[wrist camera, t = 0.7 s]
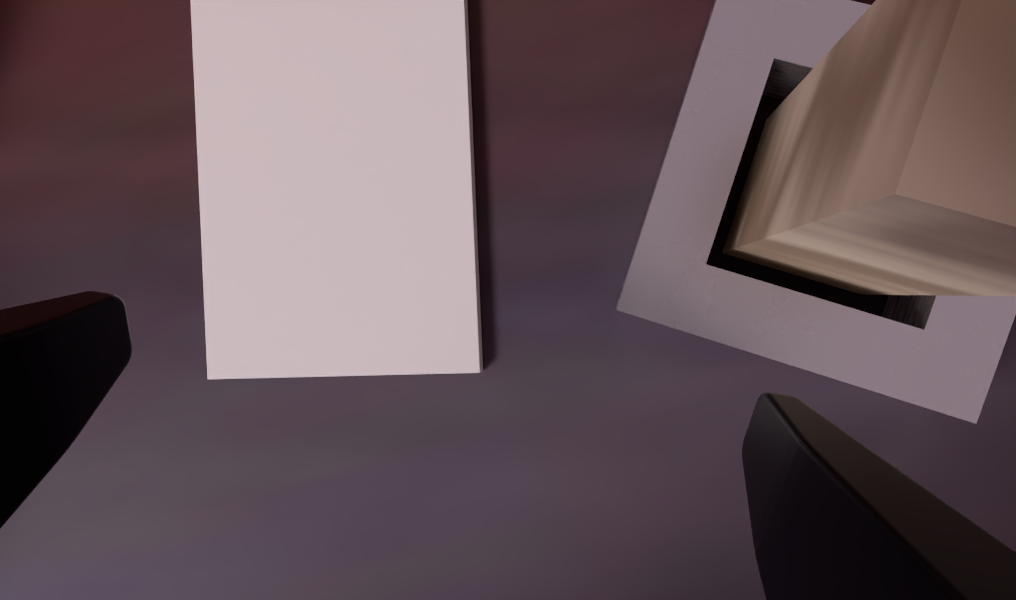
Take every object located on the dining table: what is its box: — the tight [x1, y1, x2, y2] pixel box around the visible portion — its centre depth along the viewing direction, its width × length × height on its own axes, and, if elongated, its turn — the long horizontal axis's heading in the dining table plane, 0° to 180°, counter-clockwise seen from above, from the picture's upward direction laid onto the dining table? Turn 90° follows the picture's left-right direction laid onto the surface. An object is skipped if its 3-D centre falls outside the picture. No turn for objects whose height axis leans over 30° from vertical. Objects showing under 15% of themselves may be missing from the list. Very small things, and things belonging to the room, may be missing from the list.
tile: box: [191, 0, 483, 379], centre depth 23 cm, size 14×10×1 cm
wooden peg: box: [722, 0, 1016, 296], centre depth 14 cm, size 4×4×13 cm
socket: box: [615, 0, 1016, 424], centre depth 19 cm, size 10×10×3 cm
